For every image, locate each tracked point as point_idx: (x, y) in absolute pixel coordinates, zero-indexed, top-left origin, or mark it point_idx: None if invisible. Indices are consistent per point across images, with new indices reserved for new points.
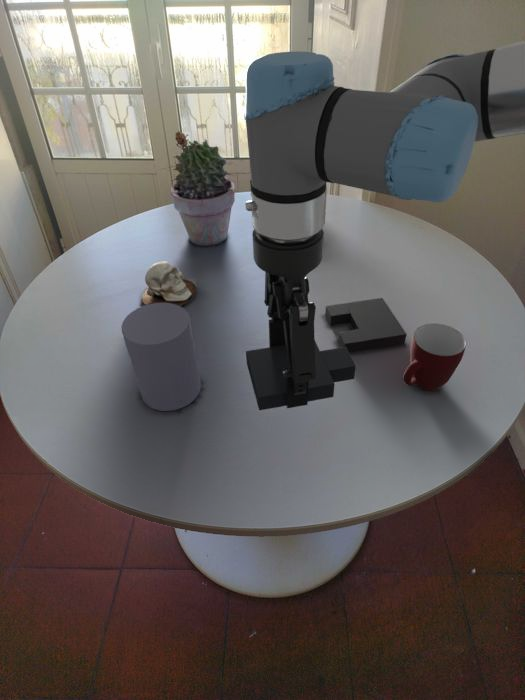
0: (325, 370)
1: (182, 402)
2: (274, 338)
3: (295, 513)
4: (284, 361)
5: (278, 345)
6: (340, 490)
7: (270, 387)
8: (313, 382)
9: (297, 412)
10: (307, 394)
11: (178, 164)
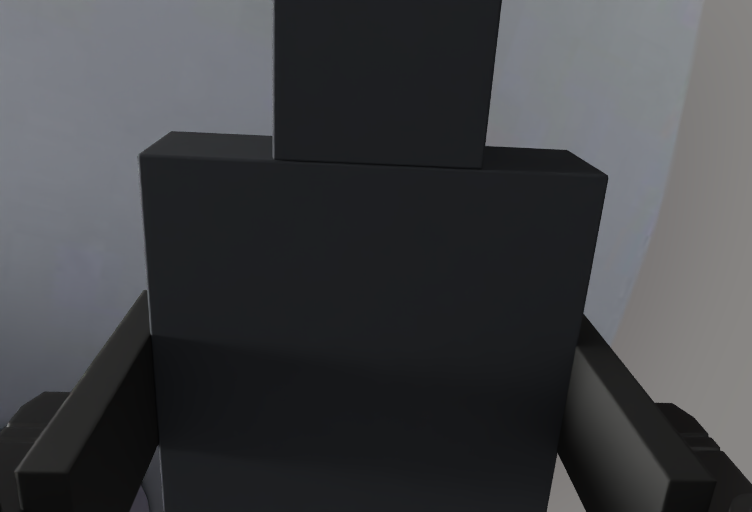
0: (473, 190)
1: (134, 501)
2: (137, 465)
3: (616, 251)
4: (312, 401)
5: (155, 401)
6: (602, 93)
7: (491, 509)
8: (543, 293)
9: (240, 128)
10: (605, 344)
11: None
